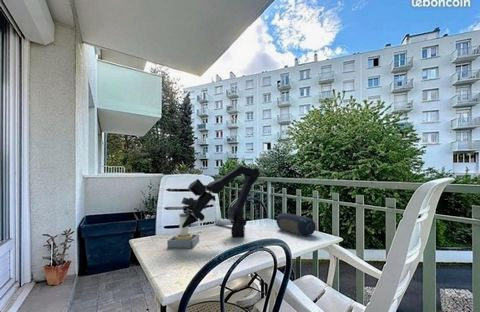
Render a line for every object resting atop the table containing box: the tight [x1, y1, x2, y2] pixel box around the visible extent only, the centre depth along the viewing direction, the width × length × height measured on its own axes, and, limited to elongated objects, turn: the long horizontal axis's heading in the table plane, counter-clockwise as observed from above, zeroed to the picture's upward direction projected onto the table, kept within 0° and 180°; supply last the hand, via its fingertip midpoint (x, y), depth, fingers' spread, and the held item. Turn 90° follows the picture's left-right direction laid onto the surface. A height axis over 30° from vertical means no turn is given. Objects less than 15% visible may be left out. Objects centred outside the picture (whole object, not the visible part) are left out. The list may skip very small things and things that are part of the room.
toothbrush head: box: [214, 217, 246, 230], centre depth 164 cm, size 5×7×25 cm
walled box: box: [166, 232, 200, 250], centre depth 127 cm, size 12×12×4 cm
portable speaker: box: [276, 212, 317, 237], centre depth 148 cm, size 25×10×10 cm, turn 33°
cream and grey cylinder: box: [179, 212, 189, 237], centre depth 127 cm, size 4×4×12 cm
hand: (181, 226), depth 127 cm, fingers closed on cream and grey cylinder, 4 cm apart
